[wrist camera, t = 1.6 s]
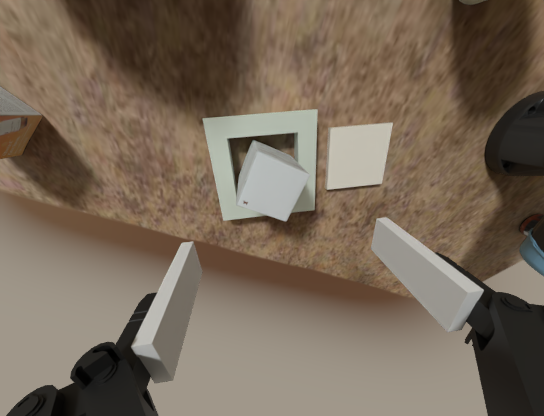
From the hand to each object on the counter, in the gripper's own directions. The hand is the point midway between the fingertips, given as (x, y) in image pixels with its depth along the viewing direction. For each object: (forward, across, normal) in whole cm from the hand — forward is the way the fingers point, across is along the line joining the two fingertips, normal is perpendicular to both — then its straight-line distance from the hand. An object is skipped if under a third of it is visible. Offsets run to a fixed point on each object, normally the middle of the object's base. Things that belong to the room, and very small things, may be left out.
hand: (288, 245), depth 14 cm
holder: (+24, 0, 0) cm, 24 cm away
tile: (+24, -17, 0) cm, 29 cm away
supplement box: (+24, 0, 0) cm, 24 cm away
